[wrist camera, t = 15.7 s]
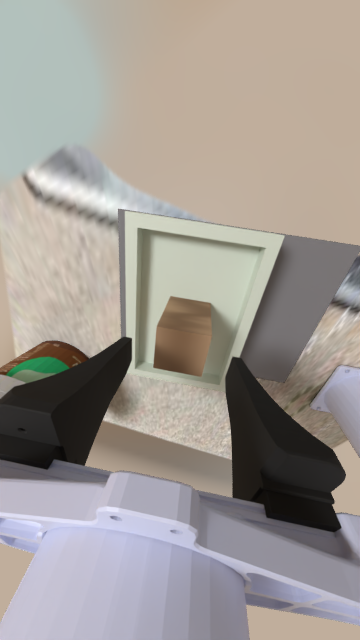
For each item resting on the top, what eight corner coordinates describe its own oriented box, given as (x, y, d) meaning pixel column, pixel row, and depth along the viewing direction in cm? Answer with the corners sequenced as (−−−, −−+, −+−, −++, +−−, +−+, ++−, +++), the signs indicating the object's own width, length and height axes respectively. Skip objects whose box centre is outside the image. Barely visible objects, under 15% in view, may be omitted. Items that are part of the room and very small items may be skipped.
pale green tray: (270, 232, 17) (284, 235, 14) (223, 371, 25) (226, 392, 22) (139, 212, 17) (124, 210, 14) (135, 355, 26) (126, 373, 23)
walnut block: (210, 302, 19) (212, 336, 13) (202, 336, 20) (201, 376, 15) (170, 296, 19) (156, 326, 13) (166, 329, 21) (153, 367, 15)
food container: (116, 385, 30) (79, 455, 21) (86, 392, 32) (40, 459, 23) (68, 321, 25) (-7, 377, 16) (35, 333, 27) (-47, 390, 18)
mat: (358, 245, 17) (362, 246, 16) (282, 379, 25) (284, 382, 25) (120, 209, 18) (118, 208, 17) (123, 350, 26) (121, 352, 26)
